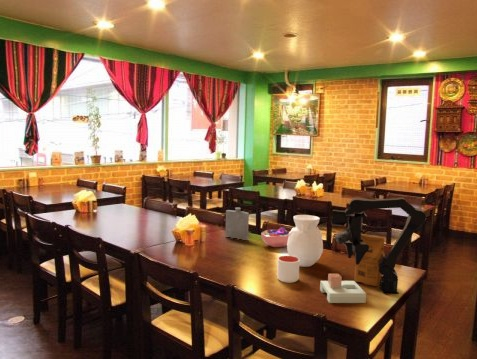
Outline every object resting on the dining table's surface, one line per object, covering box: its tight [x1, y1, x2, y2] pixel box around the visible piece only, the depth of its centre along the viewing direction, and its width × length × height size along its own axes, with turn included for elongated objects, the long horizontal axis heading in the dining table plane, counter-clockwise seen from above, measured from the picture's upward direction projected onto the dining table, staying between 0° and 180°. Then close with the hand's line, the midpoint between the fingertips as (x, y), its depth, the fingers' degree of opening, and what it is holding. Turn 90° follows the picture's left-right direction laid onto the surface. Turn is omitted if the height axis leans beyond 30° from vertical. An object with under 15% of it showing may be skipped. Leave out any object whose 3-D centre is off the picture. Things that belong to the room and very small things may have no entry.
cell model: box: [260, 226, 291, 248], centre depth 244 cm, size 17×20×11 cm
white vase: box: [286, 214, 324, 268], centre depth 211 cm, size 19×18×25 cm
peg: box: [327, 273, 343, 288], centre depth 170 cm, size 4×4×9 cm
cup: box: [276, 255, 300, 284], centre depth 188 cm, size 10×10×10 cm
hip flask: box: [225, 206, 250, 241], centre depth 258 cm, size 16×4×20 cm, turn 62°
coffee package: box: [353, 233, 385, 287], centre depth 187 cm, size 10×12×22 cm
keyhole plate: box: [319, 280, 367, 304], centre depth 171 cm, size 15×14×4 cm
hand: (353, 261), depth 181 cm, fingers open, 9 cm apart
